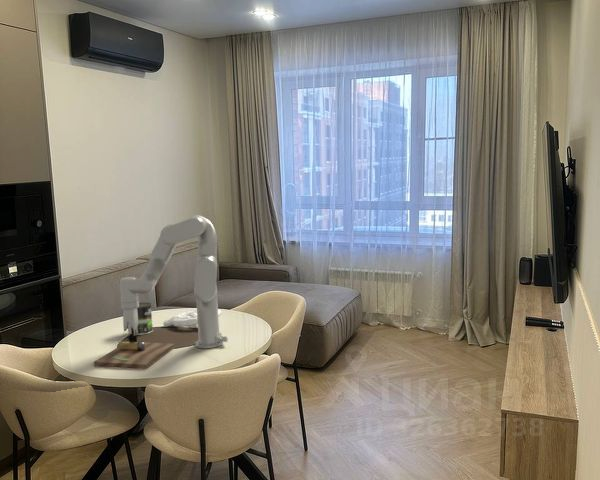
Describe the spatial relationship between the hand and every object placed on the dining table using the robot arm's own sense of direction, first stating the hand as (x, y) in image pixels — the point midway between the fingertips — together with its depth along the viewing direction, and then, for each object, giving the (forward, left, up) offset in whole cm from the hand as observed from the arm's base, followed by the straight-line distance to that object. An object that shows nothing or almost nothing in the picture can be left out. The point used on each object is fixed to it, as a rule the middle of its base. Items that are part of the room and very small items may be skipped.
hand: (133, 343), depth 240 cm
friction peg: (-2, +5, -1) cm, 6 cm away
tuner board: (-6, +8, -3) cm, 11 cm away
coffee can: (+10, -26, -3) cm, 28 cm away
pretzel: (-11, -42, -3) cm, 44 cm away
